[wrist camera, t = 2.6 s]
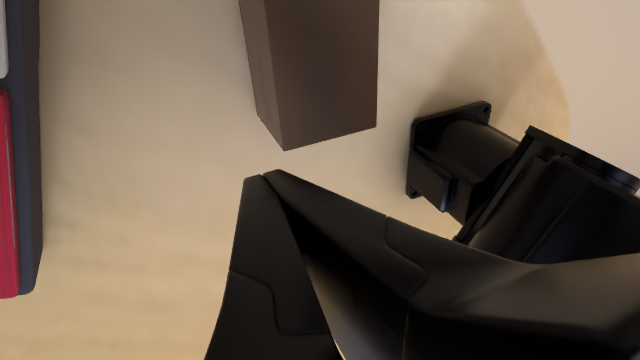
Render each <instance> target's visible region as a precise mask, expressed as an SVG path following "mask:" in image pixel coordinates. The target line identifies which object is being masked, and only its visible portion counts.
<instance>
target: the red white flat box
mask: <svg viewBox="0 0 640 360" xmlns="http://www.w3.org/2000/svg"><path fill="white" fill-rule="evenodd" d="M38 59H39V0H0V299H5V298H12V297H16V296H17V295H24V294H28V293H30V292H31V291H33V289H34V287H35V283H36V278H37V273H38V269H39V264H40V259H41V254H42V248H43V241H42V202H41V163H40V124H39V85H38Z"/></svg>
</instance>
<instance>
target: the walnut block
mask: <svg viewBox="0 0 640 360" xmlns="http://www.w3.org/2000/svg"><path fill="white" fill-rule="evenodd" d="M239 5H240V11H241V17H242V23H243V29H244V35H245V42H246V48H247V54H248V60H249V66H250V72H251V78H252V84H253V90H254V96H255V102H256V109H257V115H258V117H259V118H260V119H261V121H262V122H263V123H264V125H265V126H266V128H267V129H268V130H269V132H270V133H271V134H272V136H273V137H274V139H275V140H276V141H277V143H278V144H279V145H280V147H281V148H282V150H283V151H288V150H292V149H296V148H299V147H303V146H307V145H311V144H314V143H318V142H322V141H326V140H330V139H333V138H337V137H341V136H345V135H348V134H352V133H356V132H360V131H363V130H367V129H371V128H375V127H376V117H377V75H378V33H379V0H239Z"/></svg>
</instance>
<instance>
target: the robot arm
mask: <svg viewBox="0 0 640 360" xmlns="http://www.w3.org/2000/svg"><path fill="white" fill-rule="evenodd" d="M490 112H491V104H489V103H487V102H485V101H483V102H479V103H475V104H471V105H468V106H464V107H460V108H456V109H453V110H449V111H445V112H442V113H438V114H434V115H430V116H427V117H423V118H419V119H417V120H415V121H414V122H413V124H412V126H411V137H410V150H409V157H408V170H407V187H406V194H407V196H408V197H409V198H411V199H414V198H417V197H420V196H424V197H425V198H426V199H427V200H428V201H429V202H430V203H431V204H433V205H434V206H435V207H436V208H437V209H438V210H439V211H441V212H442V213H443V212H448V213H449V214H450V215H451V216H452V217H453V218H454V219H455V220H457V221H458V222H459V223H460V224H461V225H462V226H463V227H462V228H461V230H460V231H459V233H458V234H457V236H454V237H453V239H452V240H449V239H446V238H443V237H440V236H437V235H434V234H432V233H429V232H426V231H423V230H421V229H418V228H416V227H413V226H411V225H408V224H406V223H403V222H401V221H399V220H396V219H394V218H392V217H387V216H386V215H384V214H382V213H380V212H377V211H375V210H373V209H371V208H368V207H366V206H364V205H361V204H359V203H357V202H354V201H352V200H350V199H347V198H345V197H343V196H340V195H338V194H336V193H334V192H331V191H329V190H327V189H324V188H322V187H320V186H317V185H315V184H313V183H310V182H308V181H306V180H303V179H301V178H299V177H297V176H294V175H292V174H290V173H287V172H285V171H283V170H280V169H276V170H273V171H269V172H266V173H264V174H263V176H262V175H260V174H258V175H255V176H251V177H247V178H245V179H244V182H243V188H242V194H241V200H240V206H239V212H238V218H237V224H236V230H235V236H234V242H233V248H232V254H231V260H230V266H229V272H228V276H227V282H226V288H225V292H224V297H223V301H222V306H221V309H220V313H219V316H218V319H217V323H216V326H215V329H214V332H213V335H212V338H211V341H210V344H209V347H208V350H207V353H206V355H205V358H204V360H343V358H342V357H341V355H340V353H339V351H338V348H337V346H336V344H335V342H334V339H335V341H336V343H337V345H338V346H339V348H340V350H341V352H342V353H343V355H344V357H345V359H346V360H640V197H639V196H638V195H636V194H635V193H636V192H637V190H638V189H639V188H640V179H639V178H637V177H635V176H633V175H631V174H629V173H627V172H625V171H623V170H621V169H619V168H617V167H615V166H613V165H611V164H609V163H607V162H605V161H603V160H601V159H599V158H597V157H595V156H593V155H591V154H589V153H587V152H585V151H583V150H581V149H579V148H577V147H575V146H573V145H571V144H569V143H567V142H564V141H562V140H560V139H558V138H556V137H554V136H552V135H550V134H548V133H546V132H544V131H542V130H539V129H537V128H535V127H533V126H531V125H530V126H529V127H528V129H527V130H526V132H525V133H526V134H525V136H524V137H523V139H522V140H521V142H519V141H518V140H516V139H514V138H512V137H510V136H508V135H507V134H505V133H503V132H501V131H499V130H497V129H496V128H494V127H492V126H490V125H488V122H489V117H490ZM419 125H420V127H419ZM418 127H419V128H418ZM413 191H414V192H413ZM331 334H332V335H331ZM332 336H333V337H332ZM333 338H334V339H333Z"/></svg>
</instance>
